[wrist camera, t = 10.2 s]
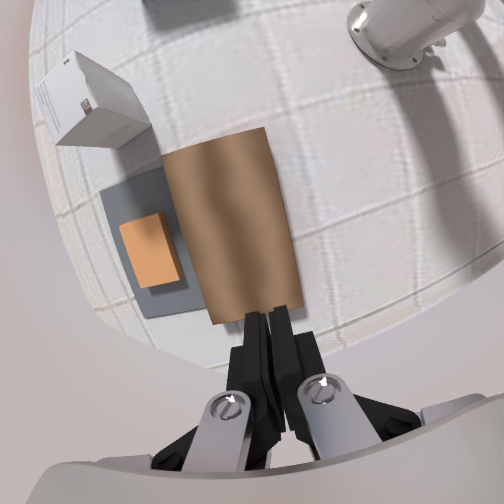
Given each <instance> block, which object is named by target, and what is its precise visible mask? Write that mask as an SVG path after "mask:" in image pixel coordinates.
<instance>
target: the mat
mask: <svg viewBox="0 0 504 504" xmlns="http://www.w3.org/2000/svg"><path fill="white" fill-rule="evenodd" d="M100 195H101V199H102V202H103V206H104V209H105V213H106V216H107V220H108V223H109V226H110V229H111V233H112V236H113V239H114V242H115V245H116V248H117V251H118V253H119V256H120V259H121V262H122V265H123V267H124V270H125V273H126V275H127V278H128V280H129V283H130V286H131V288H132V291H133V293H134V295H135V298H136V300H137V303H138V305H139V307H140V310H141V312H142V314H143V316H144V318H149V317H155V316H161V315H167V314H172V313H178V312H184V311H189V310H195V309H200V308H205V307H206V305H205V302H204V299H203V296H202V293H201V290H200V287H199V284H198V281H197V278H196V275H195V272H194V269H193V266H192V263H191V260H190V257H189V254H188V251H187V247H186V244H185V241H184V238H183V234H182V231H181V228H180V224H179V221H178V218H177V214H176V211H175V207H174V204H173V200H172V196H171V193H170V189H169V185H168V182H167V178H166V174H165V170H164V167H162V168H160V169H157V170H154V171H151V172H148V173H145V174H143V175H140V176H137V177H134V178H132V179H129V180H127V181H124V182H121V183H119V184H116V185H114V186H111V187H109V188H107V189H104V190H102V191H100ZM161 211H163V213H164V216H165V220H166V223H167V226H168V230H169V233H170V236H171V239H172V242H173V245H174V248H175V251H176V254H177V257H178V260H179V263H180V266H181V269H182V272H183V275H182V277H181V279H180V280H177V281H173V282H168V283H164V284H159V285H155V286H150V287H146V288H140V285H139V283H138V280H137V277H136V275H135V272H134V269H133V267H132V264H131V261H130V259H129V256H128V253H127V250H126V247H125V244H124V241H123V238H122V235H121V232H120V229H119V226H120V225H122V224H124V223H127V222H130V221H133V220H136V219H139V218H142V217H145V216H148V215H152V214H155V213H158V212H161Z"/></svg>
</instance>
